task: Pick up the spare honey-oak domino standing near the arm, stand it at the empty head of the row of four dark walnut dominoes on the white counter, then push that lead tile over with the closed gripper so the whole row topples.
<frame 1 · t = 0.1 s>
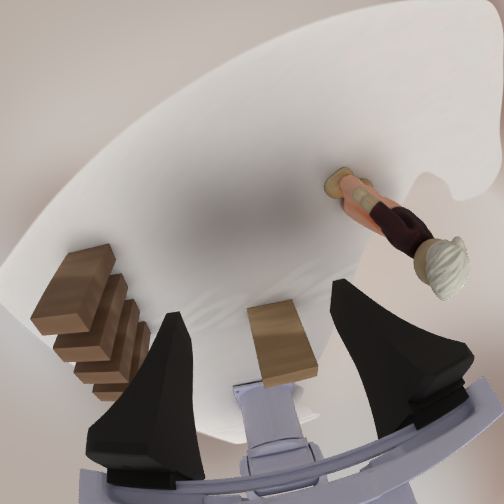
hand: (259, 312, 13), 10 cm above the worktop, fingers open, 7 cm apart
domino 4: (104, 284, 22), on the worktop
grandmother figurine: (353, 190, 21), on the worktop
domino 2: (128, 329, 25), on the worktop
domino 1: (270, 309, 27), on the worktop
domino 5: (90, 256, 20), on the worktop
domino 3: (116, 308, 24), on the worktop
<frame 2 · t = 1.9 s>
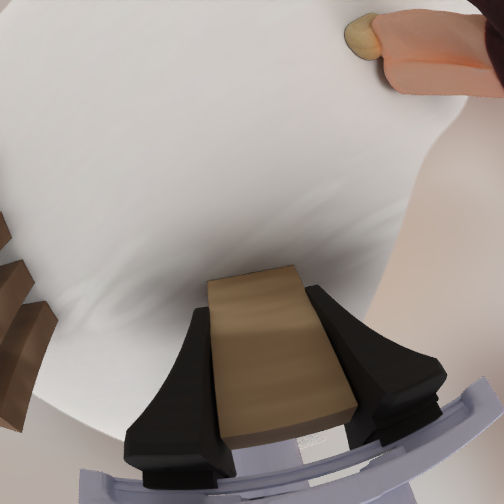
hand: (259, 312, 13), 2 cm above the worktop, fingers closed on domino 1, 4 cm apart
grandmother figurine: (393, 57, 9), on the worktop
domino 2: (30, 313, 13), on the worktop
domino 1: (252, 285, 14), on the worktop, touching gripper
domino 3: (7, 276, 11), on the worktop
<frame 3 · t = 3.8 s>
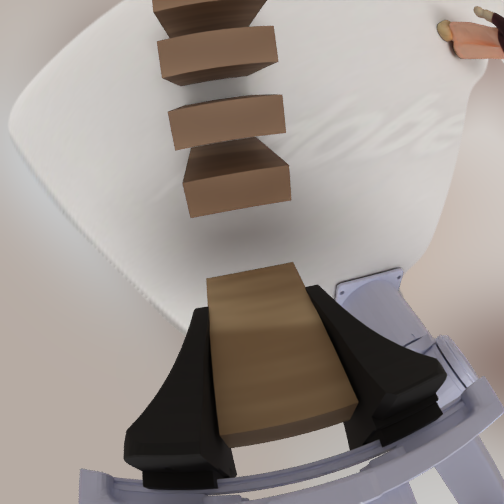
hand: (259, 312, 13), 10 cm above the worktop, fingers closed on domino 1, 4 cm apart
domino 4: (212, 69, 15), on the worktop
grandmother figurine: (454, 42, 14), on the worktop
domino 2: (225, 152, 18), on the worktop
domino 1: (251, 282, 14), point 8 cm above the worktop, touching gripper
domino 5: (207, 29, 13), on the worktop
domino 3: (218, 110, 16), on the worktop
when the fingers open (2 cm above the worktop, at t = 5.6 s): domino 1 stays where it is, on the worktop.
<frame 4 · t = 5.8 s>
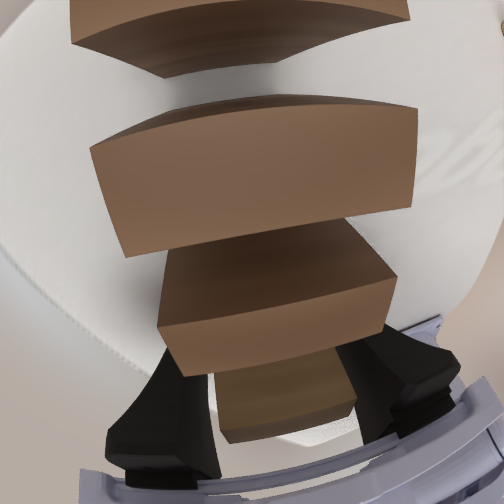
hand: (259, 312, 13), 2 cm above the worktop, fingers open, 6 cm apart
domino 4: (217, 49, 8), on the worktop
domino 2: (237, 188, 12), on the worktop
domino 1: (252, 280, 14), on the worktop
domino 3: (227, 119, 10), on the worktop
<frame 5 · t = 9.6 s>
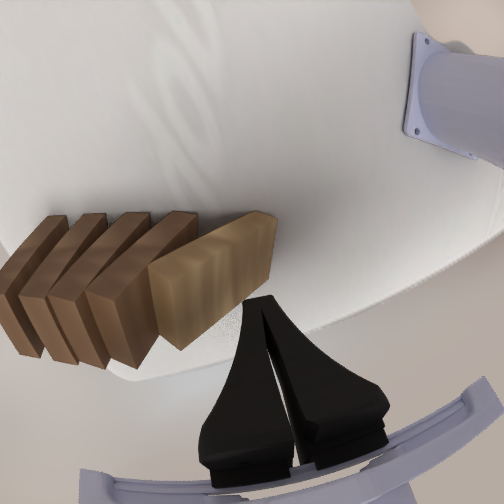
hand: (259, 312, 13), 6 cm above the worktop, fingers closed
domino 4: (99, 244, 16), on the worktop, touching domino 3
domino 2: (185, 245, 17), on the worktop, tilted 23°
domino 1: (262, 246, 18), point 1 cm above the worktop, tilted 44°
domino 5: (63, 244, 16), on the worktop
domino 3: (141, 244, 17), on the worktop, tilted 13°, touching domino 4
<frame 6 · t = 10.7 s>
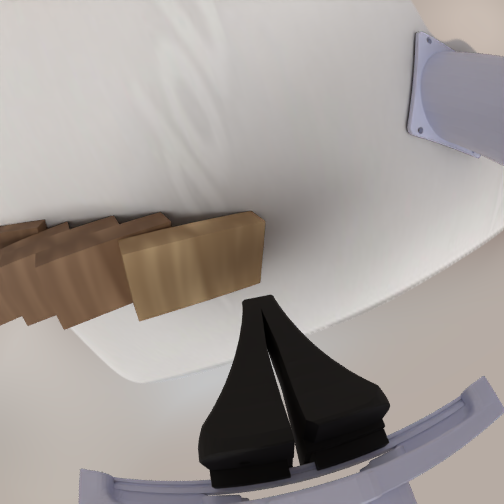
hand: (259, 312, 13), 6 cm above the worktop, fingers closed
domino 4: (77, 255, 16), point 1 cm above the worktop, tilted 60°, touching domino 5
domino 2: (169, 249, 16), point 1 cm above the worktop, tilted 60°, touching domino 1, domino 3
domino 1: (255, 247, 17), point 1 cm above the worktop, tilted 68°, touching domino 2
domino 5: (50, 250, 15), on the worktop, tilted 90°, touching domino 4
domino 3: (122, 251, 16), point 1 cm above the worktop, tilted 60°, touching domino 2
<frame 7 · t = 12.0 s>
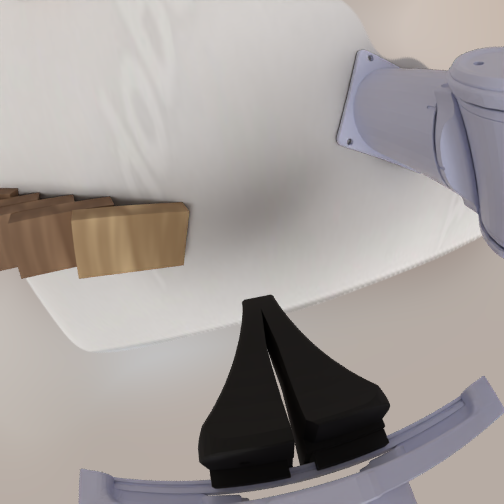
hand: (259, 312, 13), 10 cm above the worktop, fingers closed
domino 4: (41, 221, 17), point 1 cm above the worktop, tilted 62°, touching domino 3, domino 5
domino 2: (112, 227, 19), point 1 cm above the worktop, tilted 62°, touching domino 1, domino 3
domino 1: (182, 234, 20), point 1 cm above the worktop, tilted 69°, touching domino 2
domino 5: (17, 215, 16), on the worktop, tilted 90°, touching domino 4
domino 3: (75, 224, 18), point 1 cm above the worktop, tilted 62°, touching domino 2, domino 4
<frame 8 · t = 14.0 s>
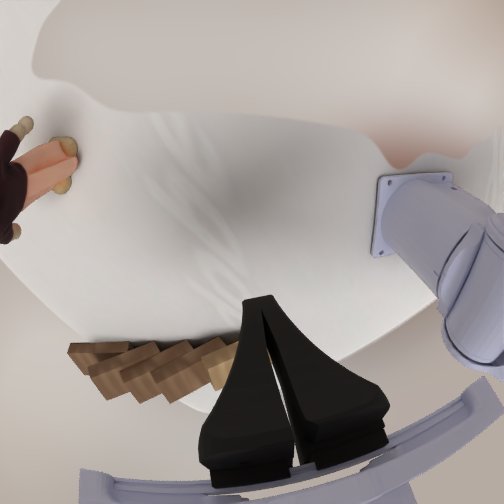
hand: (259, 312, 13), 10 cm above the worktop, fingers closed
domino 4: (161, 358, 27), point 1 cm above the worktop, tilted 63°, touching domino 3, domino 5
grandmother figurine: (62, 157, 16), on the worktop
domino 2: (225, 353, 28), point 1 cm above the worktop, tilted 62°, touching domino 1, domino 3
domino 1: (277, 342, 28), point 1 cm above the worktop, tilted 69°, touching domino 2
domino 5: (135, 358, 27), point 1 cm above the worktop, tilted 90°, touching domino 4
domino 3: (194, 356, 28), point 1 cm above the worktop, tilted 62°, touching domino 2, domino 4
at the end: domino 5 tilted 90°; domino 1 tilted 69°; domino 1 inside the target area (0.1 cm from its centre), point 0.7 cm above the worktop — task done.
